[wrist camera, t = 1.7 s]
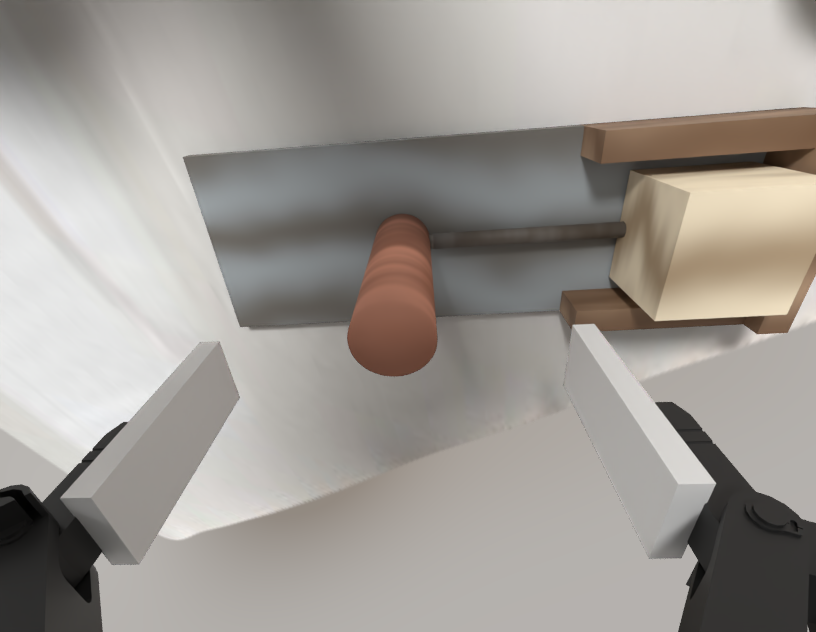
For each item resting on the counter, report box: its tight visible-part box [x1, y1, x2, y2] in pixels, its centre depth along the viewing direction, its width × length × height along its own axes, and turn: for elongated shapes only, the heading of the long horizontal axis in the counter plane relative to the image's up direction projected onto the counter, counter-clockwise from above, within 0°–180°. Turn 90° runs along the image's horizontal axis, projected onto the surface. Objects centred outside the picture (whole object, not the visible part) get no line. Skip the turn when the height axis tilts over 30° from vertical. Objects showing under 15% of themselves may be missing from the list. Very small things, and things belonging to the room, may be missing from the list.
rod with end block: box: [347, 161, 816, 376], centre depth 20 cm, size 7×23×12 cm, turn 94°
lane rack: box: [183, 107, 816, 334], centre depth 24 cm, size 12×37×5 cm, turn 94°
